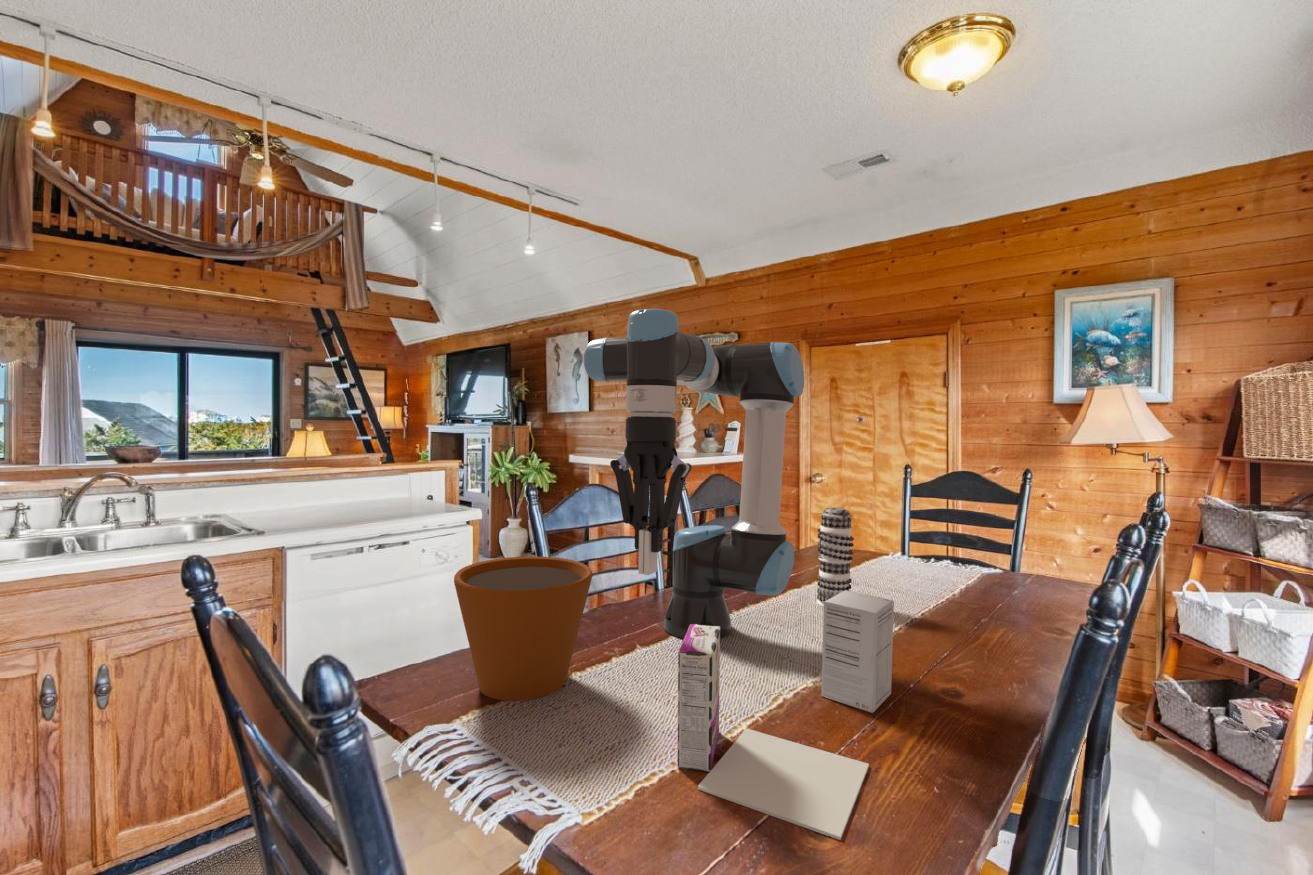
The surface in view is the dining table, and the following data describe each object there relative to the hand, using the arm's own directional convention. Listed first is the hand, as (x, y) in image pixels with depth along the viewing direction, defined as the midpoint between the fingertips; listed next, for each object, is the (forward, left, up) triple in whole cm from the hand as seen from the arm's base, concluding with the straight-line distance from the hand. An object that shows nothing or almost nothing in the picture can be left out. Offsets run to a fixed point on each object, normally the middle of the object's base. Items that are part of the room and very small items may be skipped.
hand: (647, 572), depth 90 cm
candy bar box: (+9, 0, -25) cm, 26 cm away
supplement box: (+25, +30, -25) cm, 46 cm away
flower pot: (-27, +3, -25) cm, 37 cm away
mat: (+22, 0, -24) cm, 33 cm away
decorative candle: (+9, +81, -25) cm, 85 cm away
